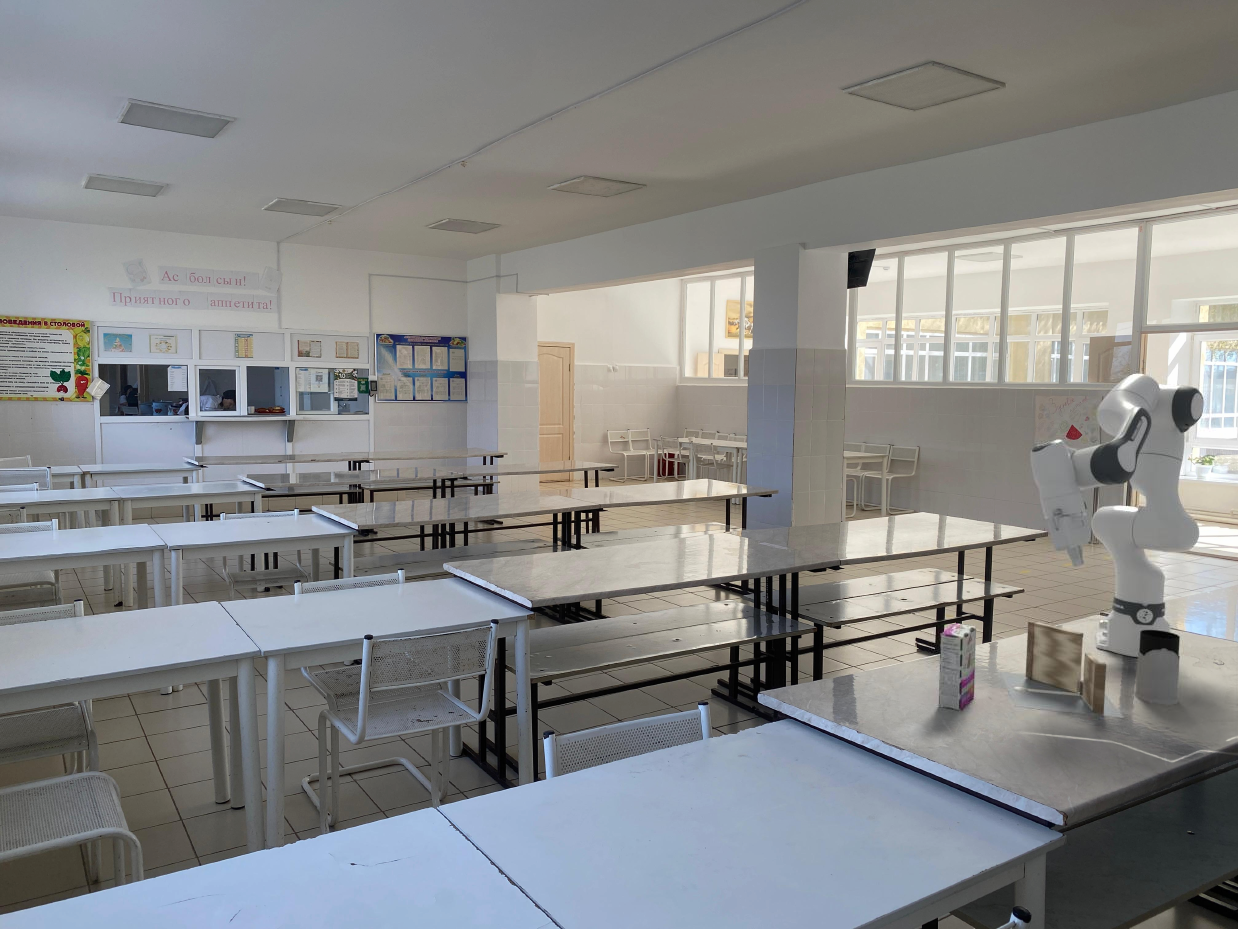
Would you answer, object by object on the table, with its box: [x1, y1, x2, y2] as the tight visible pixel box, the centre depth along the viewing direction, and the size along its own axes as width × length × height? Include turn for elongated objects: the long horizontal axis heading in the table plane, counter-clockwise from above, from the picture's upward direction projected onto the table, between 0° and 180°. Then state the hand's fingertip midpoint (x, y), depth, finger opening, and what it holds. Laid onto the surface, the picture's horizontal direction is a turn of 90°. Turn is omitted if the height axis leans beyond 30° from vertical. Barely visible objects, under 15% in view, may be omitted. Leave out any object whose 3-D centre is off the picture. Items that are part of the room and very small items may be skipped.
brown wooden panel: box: [1025, 620, 1084, 693], centre depth 197 cm, size 12×2×14 cm, turn 30°
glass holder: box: [1133, 630, 1181, 706], centre depth 192 cm, size 9×14×15 cm, turn 161°
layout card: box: [999, 671, 1125, 719], centre depth 192 cm, size 25×21×1 cm
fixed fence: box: [1080, 652, 1107, 714], centre depth 185 cm, size 13×2×11 cm, turn 165°
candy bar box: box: [938, 623, 977, 712], centre depth 186 cm, size 11×5×16 cm, turn 143°
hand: (1079, 565), depth 198 cm, fingers closed
